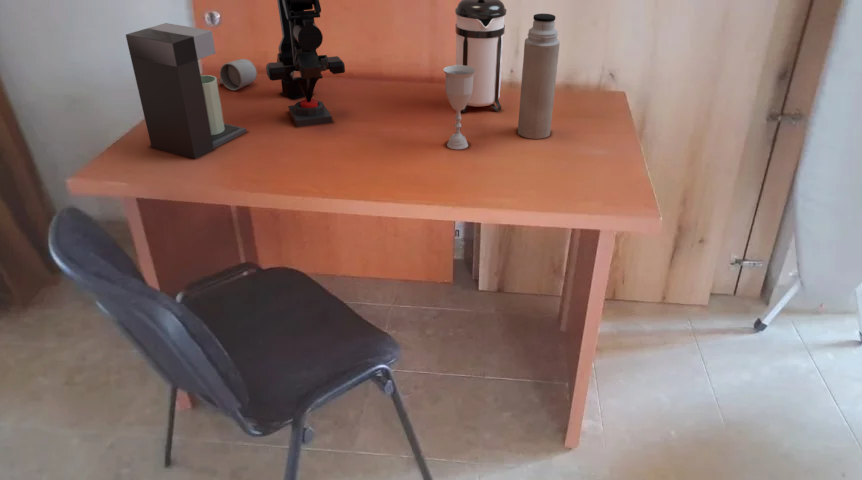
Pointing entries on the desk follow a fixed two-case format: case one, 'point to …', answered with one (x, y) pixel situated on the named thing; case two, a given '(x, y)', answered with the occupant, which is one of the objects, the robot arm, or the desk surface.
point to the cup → (213, 104)
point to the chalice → (458, 98)
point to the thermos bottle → (538, 78)
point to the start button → (309, 103)
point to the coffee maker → (175, 88)
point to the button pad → (310, 115)
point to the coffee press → (481, 47)
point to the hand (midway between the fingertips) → (308, 101)
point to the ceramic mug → (237, 74)
